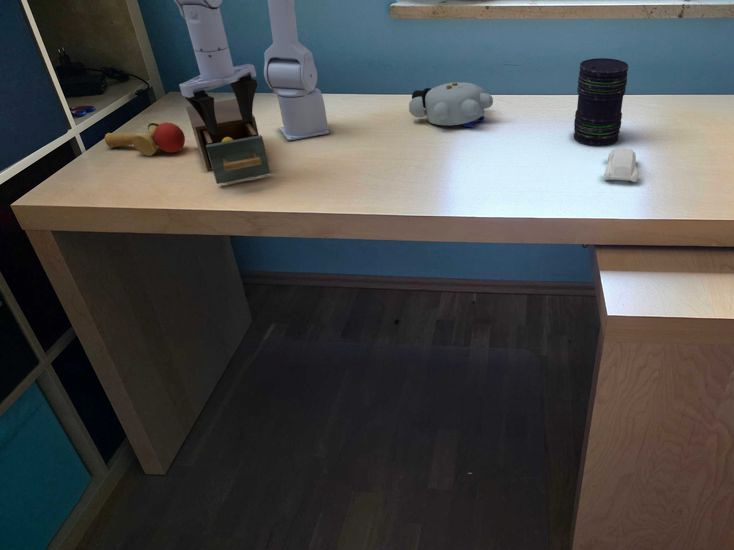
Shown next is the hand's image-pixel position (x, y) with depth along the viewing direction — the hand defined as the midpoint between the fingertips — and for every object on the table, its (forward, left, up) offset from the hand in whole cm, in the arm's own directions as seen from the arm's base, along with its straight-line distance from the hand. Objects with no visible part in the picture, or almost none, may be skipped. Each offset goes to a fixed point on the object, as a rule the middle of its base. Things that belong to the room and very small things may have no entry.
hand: (231, 126), depth 118 cm
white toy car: (-66, +32, -11) cm, 74 cm away
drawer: (0, -2, -10) cm, 10 cm away
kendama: (+16, -25, -11) cm, 32 cm away
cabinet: (0, -14, -10) cm, 18 cm away
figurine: (-50, -12, -11) cm, 52 cm away
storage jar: (-72, +15, -11) cm, 75 cm away
